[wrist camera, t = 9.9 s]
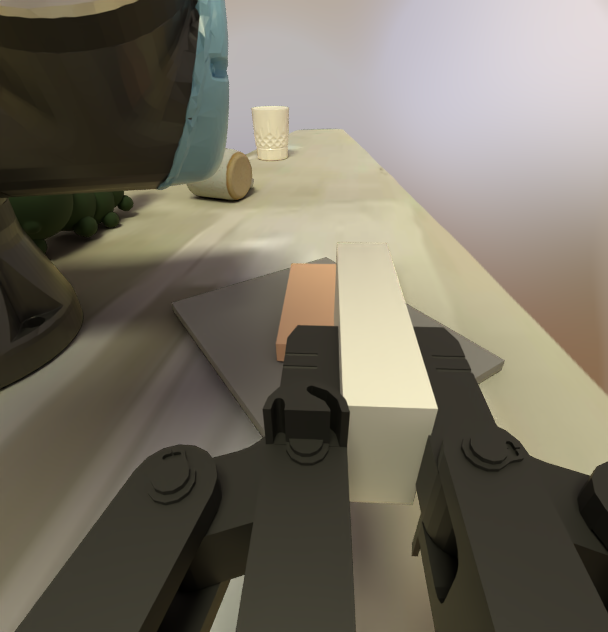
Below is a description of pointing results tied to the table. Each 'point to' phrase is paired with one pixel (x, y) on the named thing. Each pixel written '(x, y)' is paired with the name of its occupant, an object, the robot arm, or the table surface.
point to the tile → (307, 300)
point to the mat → (271, 337)
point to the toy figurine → (67, 213)
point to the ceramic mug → (227, 178)
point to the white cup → (271, 132)
